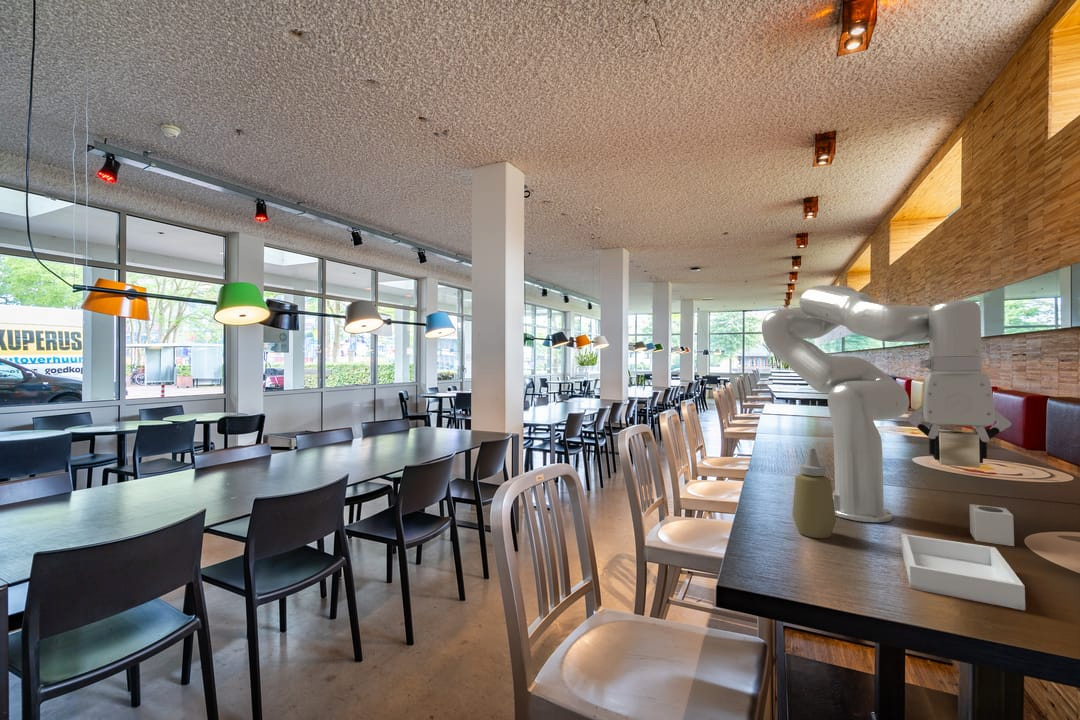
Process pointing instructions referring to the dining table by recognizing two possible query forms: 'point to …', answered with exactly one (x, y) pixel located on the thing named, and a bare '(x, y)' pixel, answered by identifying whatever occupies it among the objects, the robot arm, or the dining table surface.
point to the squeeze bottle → (813, 499)
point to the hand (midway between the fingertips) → (957, 459)
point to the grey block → (991, 524)
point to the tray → (961, 571)
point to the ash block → (959, 448)
